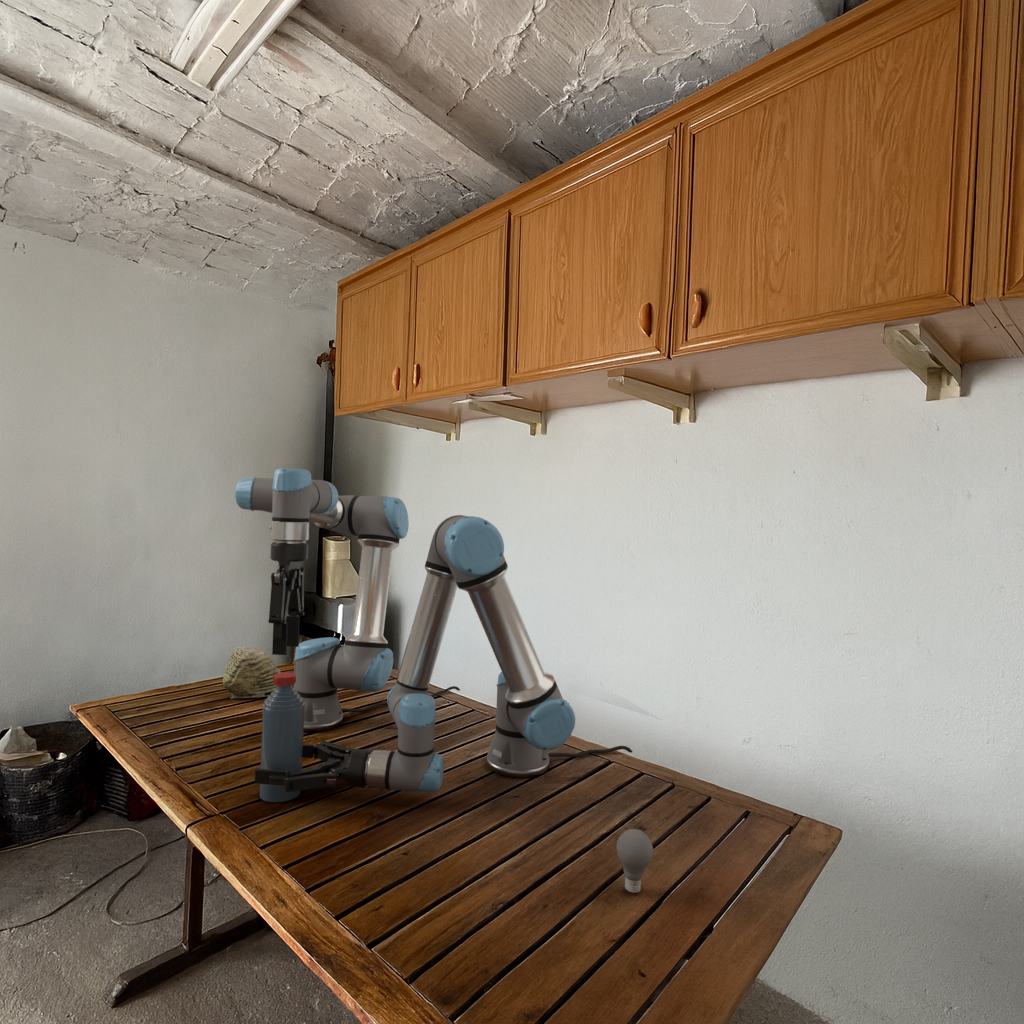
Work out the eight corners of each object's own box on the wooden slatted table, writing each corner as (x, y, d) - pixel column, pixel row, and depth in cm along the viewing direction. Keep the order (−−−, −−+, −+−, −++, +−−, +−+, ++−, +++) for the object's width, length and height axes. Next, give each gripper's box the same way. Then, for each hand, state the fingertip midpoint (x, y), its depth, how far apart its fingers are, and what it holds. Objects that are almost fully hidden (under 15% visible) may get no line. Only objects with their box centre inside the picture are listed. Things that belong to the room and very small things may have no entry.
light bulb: (610, 879, 108) (613, 822, 108) (644, 879, 109) (647, 822, 109) (619, 902, 102) (622, 840, 102) (655, 901, 103) (658, 840, 103)
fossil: (218, 695, 195) (220, 647, 195) (278, 685, 208) (279, 640, 207) (228, 703, 189) (230, 653, 188) (289, 692, 201) (290, 645, 201)
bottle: (250, 797, 132) (254, 679, 132) (277, 781, 140) (281, 669, 140) (283, 805, 129) (288, 684, 129) (309, 788, 137) (313, 674, 137)
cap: (268, 684, 133) (268, 676, 133) (283, 679, 137) (283, 671, 137) (286, 687, 131) (286, 679, 131) (300, 681, 136) (300, 673, 136)
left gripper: (288, 538, 144) (284, 639, 144) (253, 544, 124) (248, 661, 124) (321, 539, 144) (317, 640, 144) (291, 545, 124) (287, 662, 124)
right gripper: (349, 816, 121) (241, 808, 122) (384, 762, 145) (293, 756, 147) (351, 776, 120) (242, 769, 122) (385, 729, 145) (294, 723, 147)
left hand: (285, 649), depth 134 cm, fingers open, 7 cm apart
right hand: (270, 762), depth 134 cm, fingers open, 13 cm apart
